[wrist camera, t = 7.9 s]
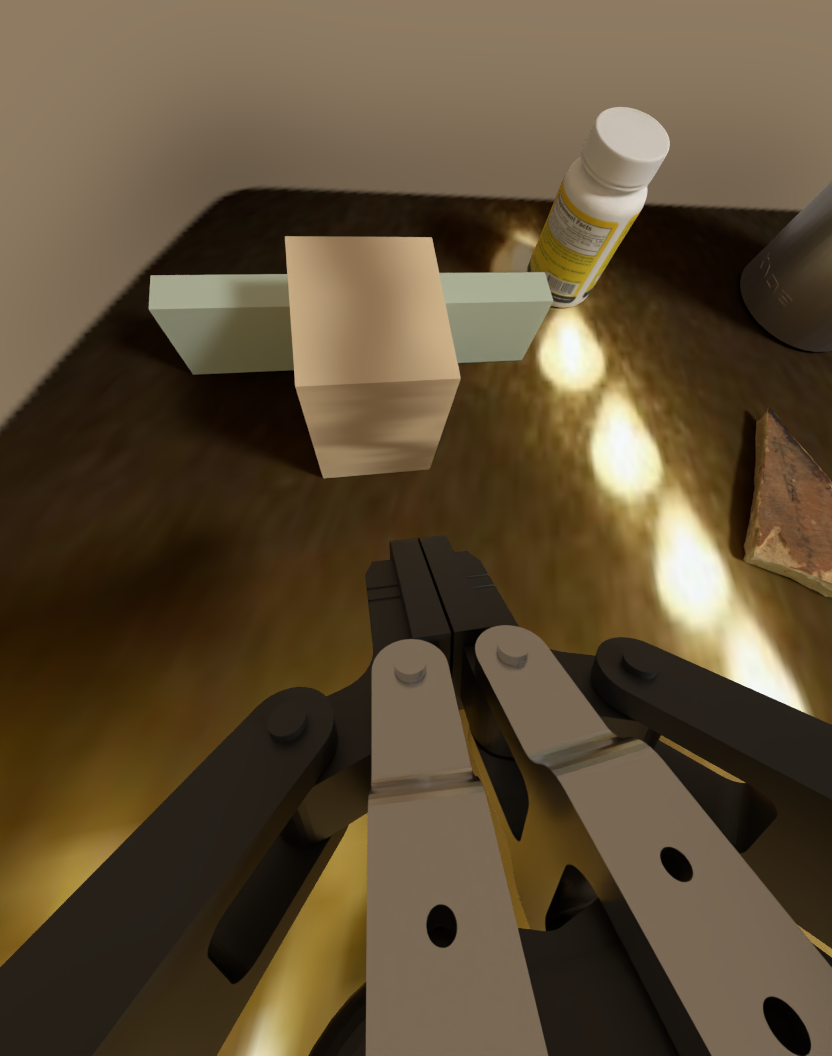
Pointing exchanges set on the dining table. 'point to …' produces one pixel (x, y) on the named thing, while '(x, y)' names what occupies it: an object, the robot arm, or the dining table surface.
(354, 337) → the birch block
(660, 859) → the robot arm
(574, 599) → the dining table surface
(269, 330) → the sage fence board
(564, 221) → the supplement bottle
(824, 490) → the shard
